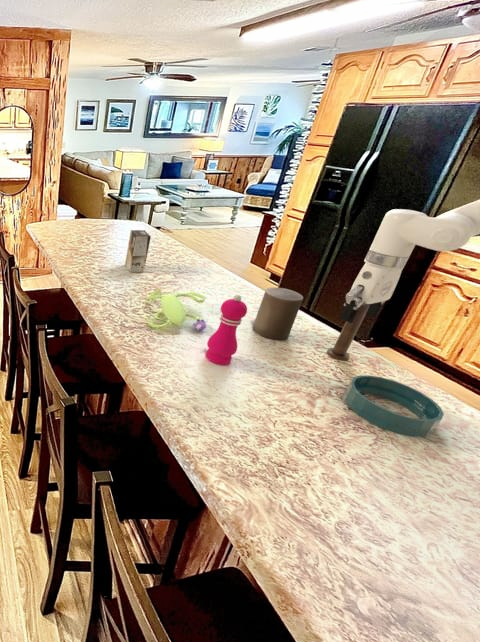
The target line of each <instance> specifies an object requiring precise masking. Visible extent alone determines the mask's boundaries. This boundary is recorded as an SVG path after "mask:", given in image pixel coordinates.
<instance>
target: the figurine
mask: <svg viewBox="0 0 480 642" xmlns="http://www.w3.org/2000/svg"><path fill="white" fill-rule="evenodd" d="M160 293H162V289H157V290H155V291H153V292H151V293H150V294H149V295H148V297H147V299H148V300H153V299H161V300H160V303H161V304H160V307H161V309H162V310H158V311H157V312H156V313H155V314H154V318H155V319H156V320H160V321H164V322H165V323H163V324H155V323H152V321H151V315H147V317H146V323H147V325H148V326H149V327H150V328H152V329H157V330H161V329H165V328H168V327H169V326H171V324H174V325H176V326H180V325H183V324H184V323H185V322H186V319H187V317H189V318H193V319H194V320H196V322H195V323H193V324H192V326H193V327H194V328H195V330H197V331H203V330H204V329H206V328H207V324H206V321H205V320H204V319H203V318H202V319H201V318H200V317H199V316H197V315H196V314H193V313H189V312H187V311H186V310H185V309H186V308H185V307H184V304H183V303H182V302H181V300H180V299H179V297H186V298H190V299H192V300H193V301H194V302H195V303H198V304H203V303H204V302H205V301H206V299H207V297H206V296H205V295H203V294H201V293H197V292H195V291H193V290H190V292H189V293H186V292H179V293H175V294H172V293H165V294H160ZM160 315H164V316H165V318H166V319H164V318H160Z"/></svg>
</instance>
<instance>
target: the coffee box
mask: <svg viewBox="0 0 480 642" xmlns="http://www.w3.org/2000/svg"><path fill="white" fill-rule="evenodd" d="M151 238H152V237H151V235H150V234H149V233H148V232H147V231H146V230H145V229H144V230H142V229H137V230H136V229H135V230H134V229H130V232H129V238H128V245H127V251H126V255H125V256H126V257H125V263H124V265H125V267H126V268H127V270H128V271H129V272H130V273H132V272H133V273H144V272H145V270H146V269H145V268H146V263H147V258H148V253H149V249H150V242H151Z"/></svg>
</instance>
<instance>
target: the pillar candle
mask: <svg viewBox="0 0 480 642" xmlns="http://www.w3.org/2000/svg"><path fill="white" fill-rule="evenodd" d="M303 300H304V296H303V295H302V294H300V293H299V292H297V291H294V290H292V289H288V288H284V287H283V288H282V287H276V286H275V287H267V288H265V291H264V293H263V297H262V300H261V302H260V305H259V308H258V310H257V313H256V317H255V319H254V322H253V325H252V331H254V333H256V334H258V335H260V336H261V337H263V338H266V339H269V340H275V341H285V340H287V339H288V338H289V336H290V333H291V331H292V328H293V326H294V323H295V321H296V318H297V315H298V313H299V310H300V308H301V306H302V303H303Z"/></svg>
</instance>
